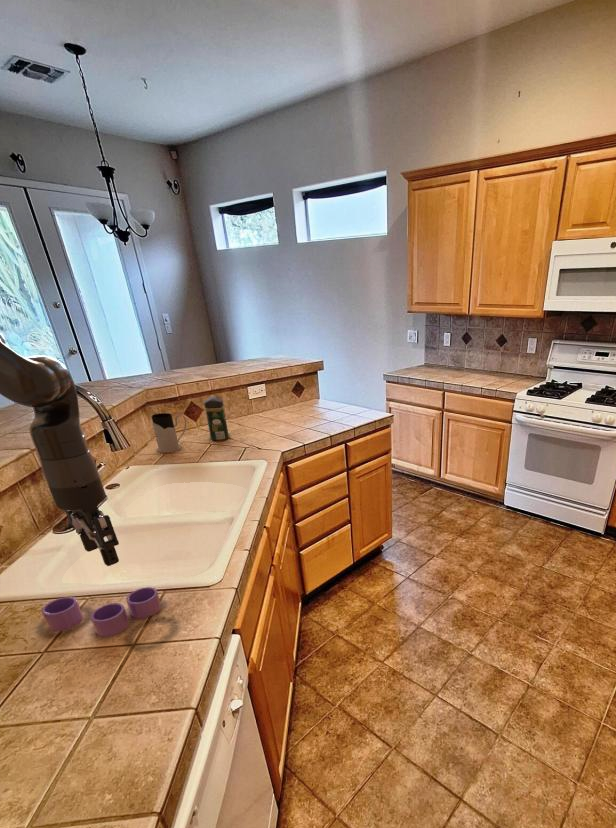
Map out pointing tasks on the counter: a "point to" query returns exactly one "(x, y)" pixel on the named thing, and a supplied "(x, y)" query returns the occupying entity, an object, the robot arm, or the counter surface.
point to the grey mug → (166, 432)
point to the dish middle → (110, 619)
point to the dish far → (143, 602)
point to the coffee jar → (216, 418)
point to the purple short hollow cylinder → (62, 614)
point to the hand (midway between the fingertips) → (102, 556)
